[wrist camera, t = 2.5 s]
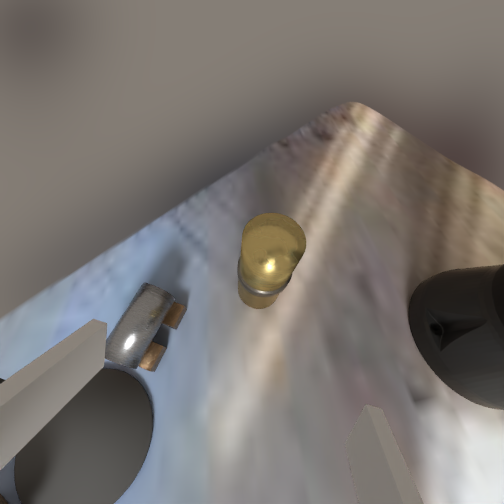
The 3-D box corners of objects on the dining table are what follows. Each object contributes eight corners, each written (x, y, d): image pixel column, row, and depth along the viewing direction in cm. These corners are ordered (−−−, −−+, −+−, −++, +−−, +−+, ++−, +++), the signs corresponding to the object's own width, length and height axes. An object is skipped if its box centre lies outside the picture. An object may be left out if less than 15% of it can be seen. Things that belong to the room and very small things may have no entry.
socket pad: (176, 436, 22) (176, 437, 21) (54, 567, 18) (50, 571, 17) (113, 344, 25) (112, 344, 24) (-4, 436, 21) (-7, 437, 20)
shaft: (154, 372, 24) (136, 372, 19) (109, 352, 24) (81, 347, 20) (187, 308, 27) (178, 295, 22) (147, 292, 27) (130, 276, 23)
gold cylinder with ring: (289, 289, 29) (322, 241, 18) (258, 320, 27) (275, 286, 16) (258, 260, 31) (273, 200, 20) (227, 287, 29) (224, 236, 18)
